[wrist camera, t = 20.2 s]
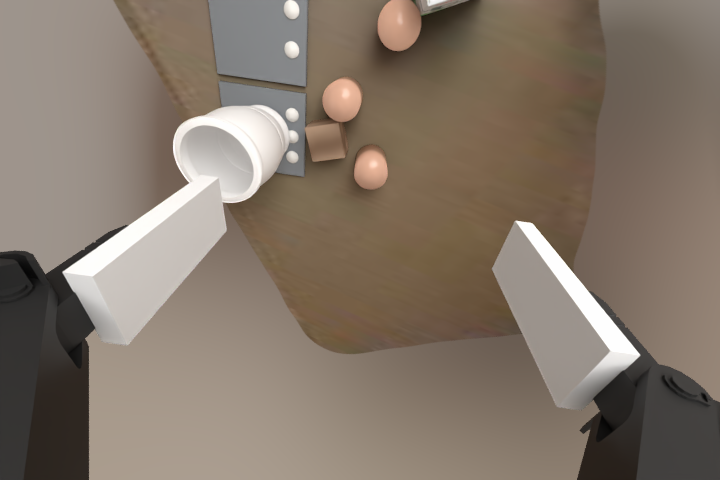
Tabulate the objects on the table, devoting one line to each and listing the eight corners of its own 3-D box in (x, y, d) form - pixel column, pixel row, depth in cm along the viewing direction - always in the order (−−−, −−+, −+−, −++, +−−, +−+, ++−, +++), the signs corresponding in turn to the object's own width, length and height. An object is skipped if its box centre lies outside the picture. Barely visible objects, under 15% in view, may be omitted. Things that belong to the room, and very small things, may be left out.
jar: (222, 138, 48) (162, 170, 36) (247, 81, 43) (186, 95, 31) (279, 176, 51) (241, 218, 39) (308, 126, 46) (276, 156, 34)
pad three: (220, 80, 44) (217, 81, 44) (306, 93, 44) (305, 94, 44) (230, 164, 51) (228, 166, 51) (304, 175, 51) (303, 177, 51)
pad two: (204, -47, 36) (201, -49, 36) (308, -31, 36) (307, -33, 36) (219, 73, 44) (216, 73, 43) (306, 86, 44) (305, 86, 43)
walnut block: (311, 120, 46) (304, 128, 42) (342, 115, 46) (338, 122, 42) (319, 152, 49) (312, 161, 45) (348, 148, 48) (344, 157, 44)
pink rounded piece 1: (331, 74, 43) (323, 77, 38) (365, 79, 43) (362, 83, 38) (328, 111, 45) (321, 119, 40) (360, 115, 45) (357, 124, 40)
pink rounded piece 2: (349, 156, 49) (347, 171, 44) (374, 138, 47) (374, 150, 42) (368, 179, 51) (367, 195, 46) (392, 162, 49) (394, 177, 44)
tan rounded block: (382, 1, 38) (381, -6, 33) (420, 7, 38) (425, 1, 33) (376, 47, 40) (374, 47, 35) (412, 52, 40) (415, 53, 35)
